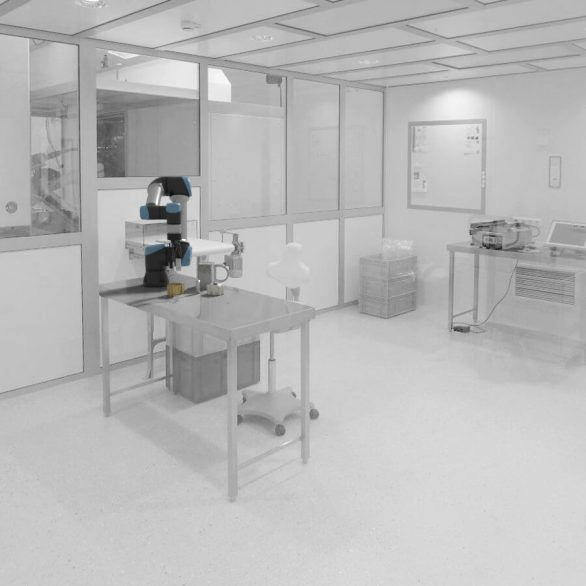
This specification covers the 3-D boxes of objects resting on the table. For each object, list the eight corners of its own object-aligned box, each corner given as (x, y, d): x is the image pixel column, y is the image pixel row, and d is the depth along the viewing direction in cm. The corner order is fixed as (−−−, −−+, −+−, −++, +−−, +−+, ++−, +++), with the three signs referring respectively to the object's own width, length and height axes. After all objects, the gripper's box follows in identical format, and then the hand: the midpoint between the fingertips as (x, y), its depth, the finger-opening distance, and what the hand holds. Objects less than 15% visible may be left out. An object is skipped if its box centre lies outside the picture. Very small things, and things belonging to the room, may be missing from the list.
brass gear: (170, 293, 356) (169, 282, 355) (186, 293, 356) (185, 282, 355) (165, 296, 348) (165, 285, 347) (182, 297, 347) (181, 285, 346)
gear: (209, 292, 355) (208, 281, 353) (225, 292, 354) (225, 281, 353) (205, 295, 346) (205, 284, 345) (222, 295, 345) (222, 284, 344)
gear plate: (192, 293, 356) (191, 279, 354) (225, 294, 354) (225, 280, 352) (187, 297, 347) (187, 282, 345) (222, 298, 345) (222, 283, 344)
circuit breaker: (217, 286, 376) (216, 260, 373) (211, 291, 362) (211, 264, 359) (204, 286, 377) (203, 260, 374) (198, 291, 363) (197, 264, 360)
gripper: (174, 234, 333) (176, 276, 337) (187, 230, 357) (188, 269, 361) (160, 234, 333) (161, 276, 337) (173, 230, 358) (174, 268, 362)
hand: (175, 272), depth 349 cm, fingers open, 13 cm apart
